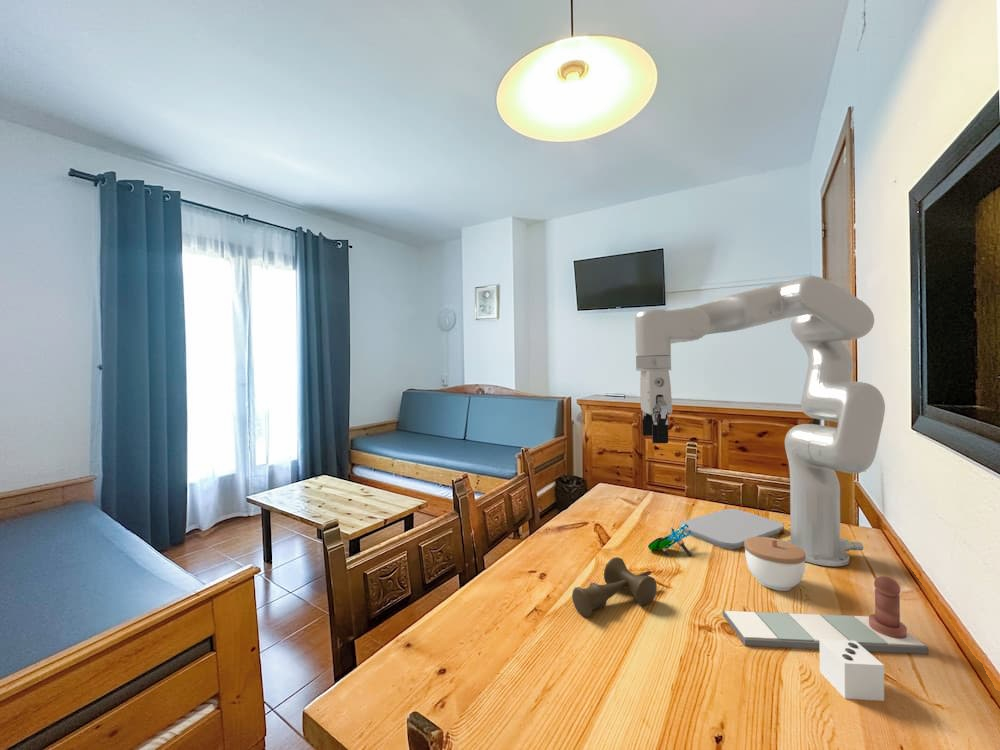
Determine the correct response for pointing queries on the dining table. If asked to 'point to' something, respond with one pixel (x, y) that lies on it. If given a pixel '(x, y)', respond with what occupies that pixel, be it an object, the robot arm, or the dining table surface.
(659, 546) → the stick construction toy
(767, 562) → the lidded jar
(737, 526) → the tablet
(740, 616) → the track board
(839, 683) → the die
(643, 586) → the kendama
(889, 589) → the pawn
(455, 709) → the dining table surface
